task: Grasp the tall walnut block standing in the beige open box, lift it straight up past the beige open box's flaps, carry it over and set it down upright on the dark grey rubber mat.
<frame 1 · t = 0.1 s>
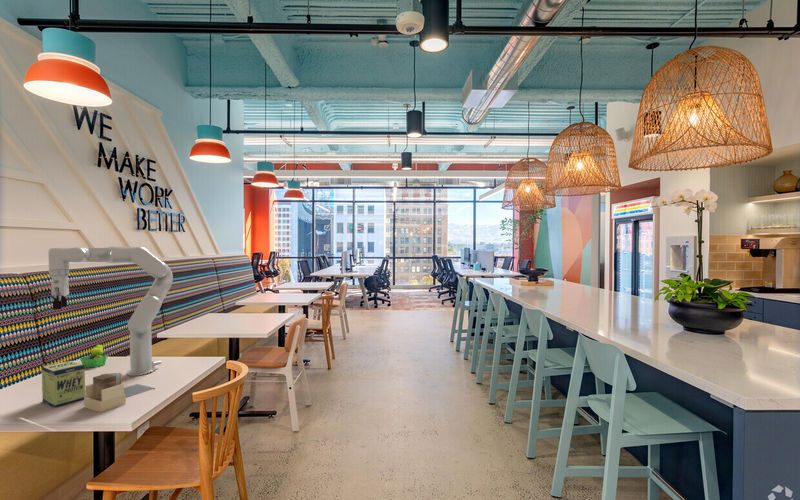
hand: (60, 308, 191), 37 cm above the table, tool pointing down, fingers open, 9 cm apart
ceramic mug: (110, 389, 183), on the table
beige open box: (105, 406, 161), on the table
protein box: (64, 401, 168), on the table
rubber mat: (129, 392, 177), on the table
walnut block: (105, 405, 161), resting on beige open box
fruit basket: (95, 365, 222), on the table
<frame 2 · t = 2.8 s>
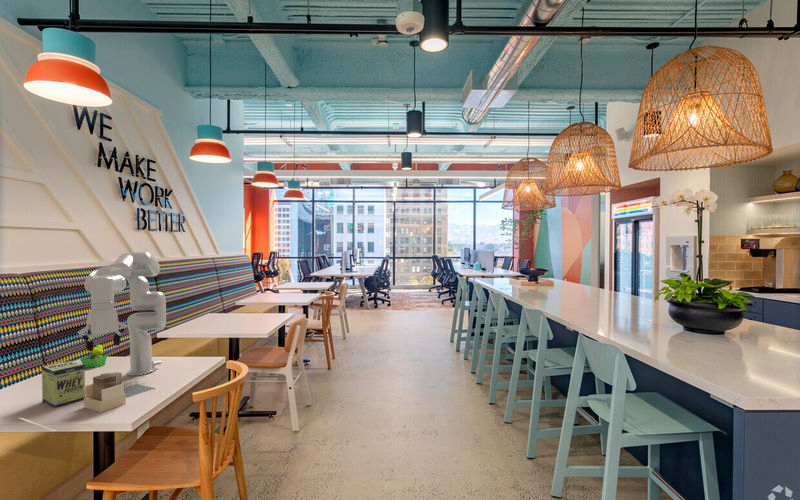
hand: (103, 347, 161), 24 cm above the table, tool pointing down, fingers open, 9 cm apart
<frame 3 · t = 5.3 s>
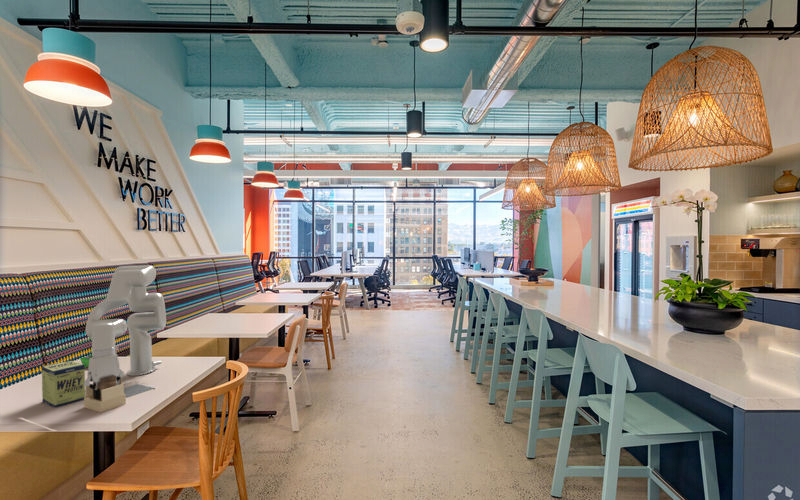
hand: (104, 395, 161), 4 cm above the table, tool pointing down, fingers closed on walnut block, 5 cm apart
walnut block: (105, 405, 161), resting on beige open box, touching gripper
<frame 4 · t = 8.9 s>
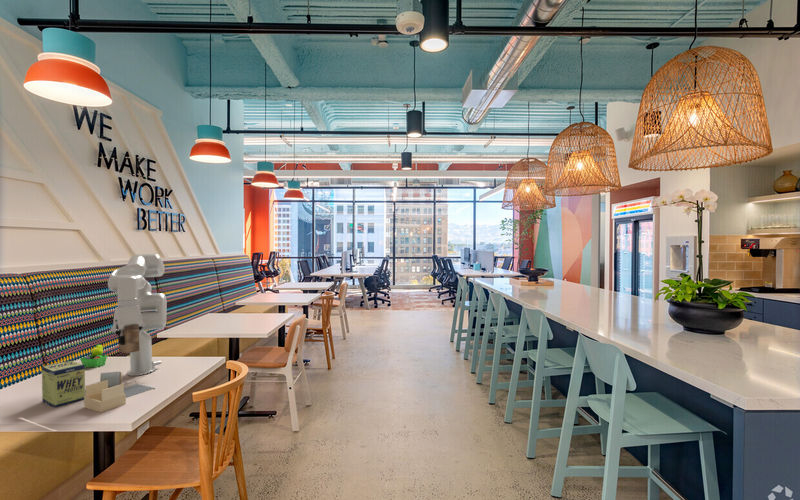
hand: (128, 342, 177), 23 cm above the table, tool pointing down, fingers closed on walnut block, 5 cm apart
walnut block: (129, 351, 177), point 19 cm above the table, touching gripper
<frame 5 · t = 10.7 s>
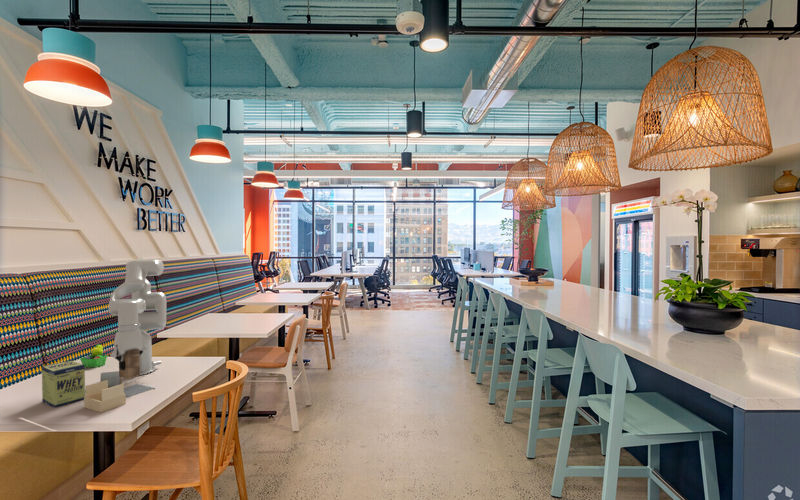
hand: (129, 367, 177), 11 cm above the table, tool pointing down, fingers closed on walnut block, 5 cm apart
walnut block: (129, 376, 177), point 7 cm above the table, touching gripper
when the fingers open (6 cm above the table, at t = 12.3 s): walnut block drops 1 cm, resting on rubber mat.
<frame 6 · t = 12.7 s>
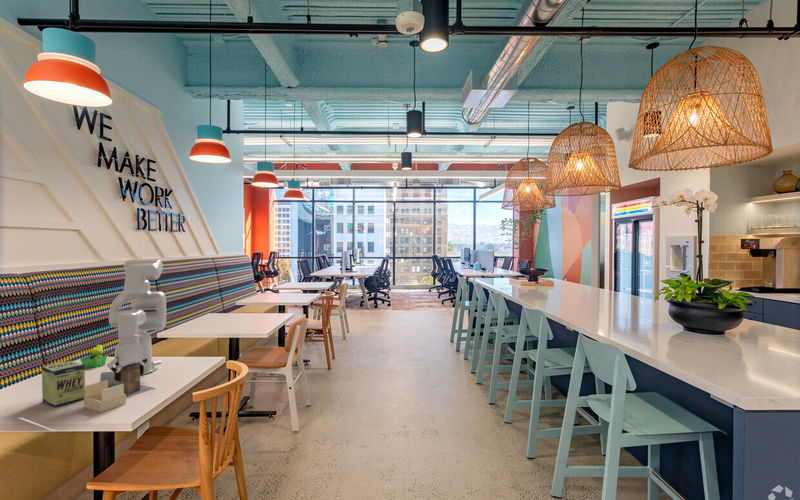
hand: (129, 377, 177), 7 cm above the table, tool pointing down, fingers open, 9 cm apart
walnut block: (130, 390, 178), point 1 cm above the table, touching rubber mat
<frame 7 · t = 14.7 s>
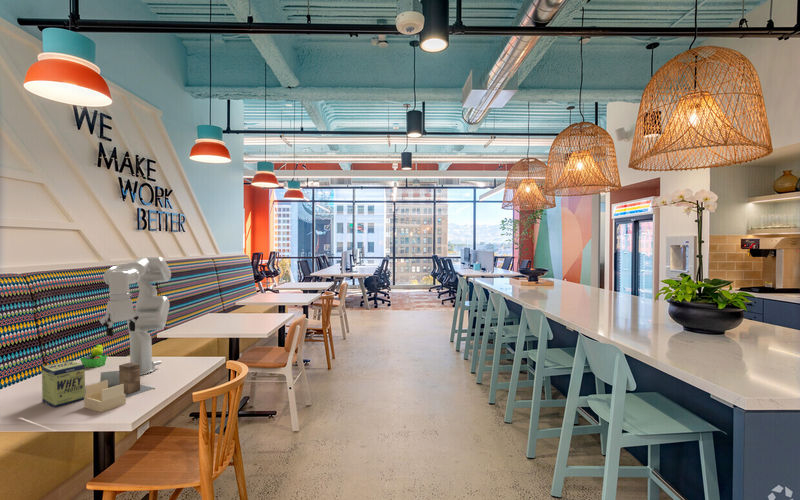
hand: (121, 333, 183), 26 cm above the table, tool pointing down, fingers open, 9 cm apart
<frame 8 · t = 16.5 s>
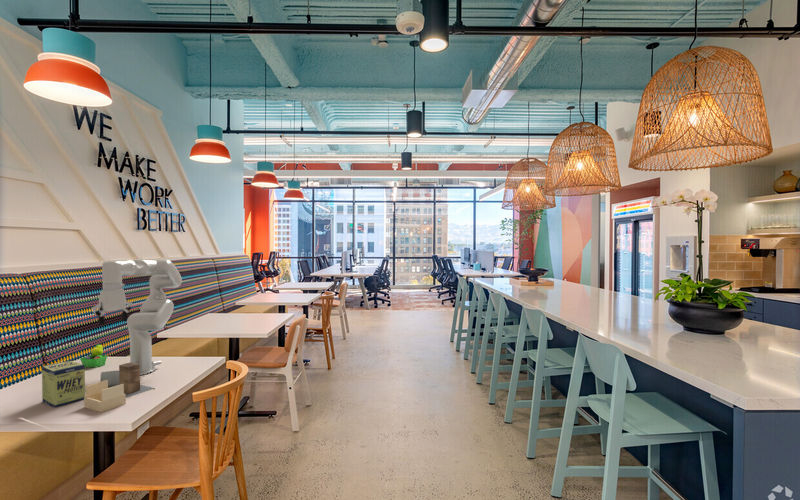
hand: (113, 322, 186), 30 cm above the table, tool pointing down, fingers open, 9 cm apart
at the end: walnut block inside the target area on the rubber mat (0.1 cm from its centre), point 0.6 cm above the rubber mat's base; walnut block tilted 0°; the gripper is holding nothing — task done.
